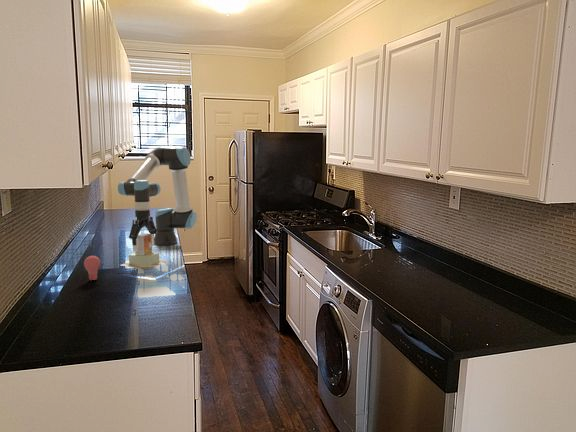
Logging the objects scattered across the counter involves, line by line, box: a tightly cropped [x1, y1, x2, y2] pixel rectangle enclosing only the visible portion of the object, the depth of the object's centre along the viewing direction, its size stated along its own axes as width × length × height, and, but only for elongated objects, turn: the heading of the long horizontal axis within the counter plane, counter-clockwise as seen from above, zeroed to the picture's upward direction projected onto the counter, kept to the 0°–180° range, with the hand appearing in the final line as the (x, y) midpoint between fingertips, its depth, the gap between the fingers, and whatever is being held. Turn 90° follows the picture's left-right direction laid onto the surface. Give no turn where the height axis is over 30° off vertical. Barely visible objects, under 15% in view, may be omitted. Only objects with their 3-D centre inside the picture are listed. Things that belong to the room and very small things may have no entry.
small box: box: [134, 233, 153, 256], centre depth 235 cm, size 8×6×10 cm
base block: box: [128, 251, 160, 266], centre depth 236 cm, size 10×12×5 cm
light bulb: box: [83, 255, 101, 281], centre depth 208 cm, size 7×7×12 cm
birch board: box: [119, 259, 169, 270], centre depth 237 cm, size 18×18×1 cm
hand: (143, 248), depth 235 cm, fingers open, 13 cm apart
